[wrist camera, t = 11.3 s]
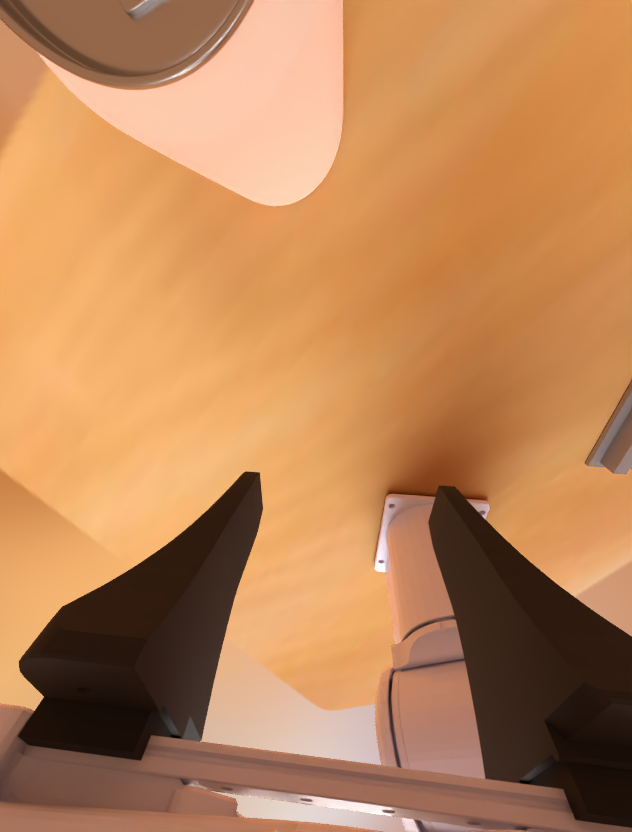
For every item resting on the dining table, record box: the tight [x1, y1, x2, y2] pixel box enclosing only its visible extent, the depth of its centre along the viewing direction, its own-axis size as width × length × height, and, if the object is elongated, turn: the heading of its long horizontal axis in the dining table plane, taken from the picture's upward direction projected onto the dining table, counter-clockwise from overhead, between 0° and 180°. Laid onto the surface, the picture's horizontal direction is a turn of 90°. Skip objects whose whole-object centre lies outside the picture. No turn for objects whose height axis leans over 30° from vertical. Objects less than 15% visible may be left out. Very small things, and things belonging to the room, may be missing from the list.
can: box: [0, 0, 343, 206], centre depth 9 cm, size 6×6×12 cm
